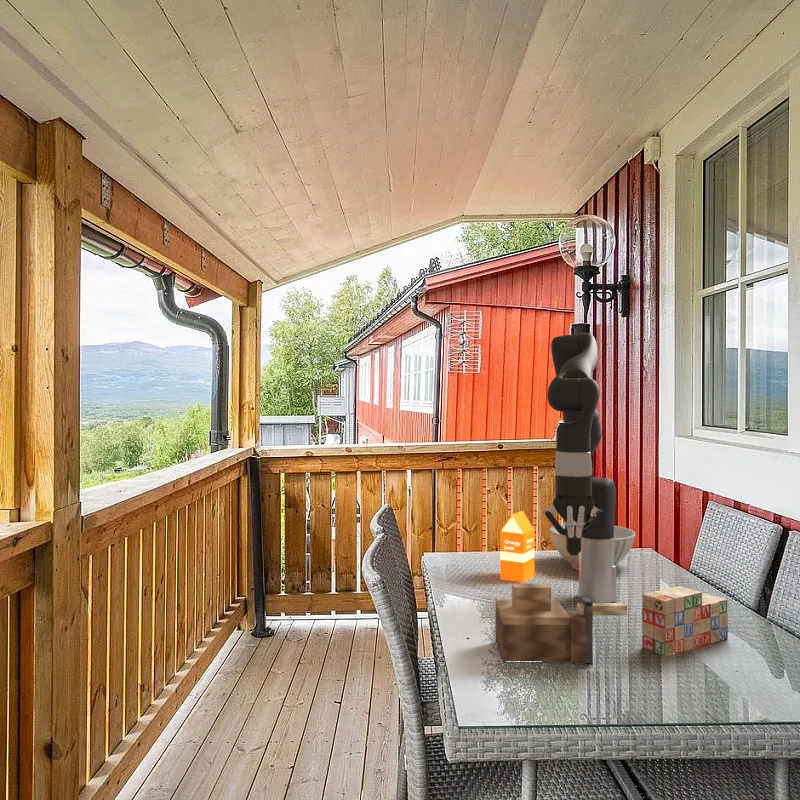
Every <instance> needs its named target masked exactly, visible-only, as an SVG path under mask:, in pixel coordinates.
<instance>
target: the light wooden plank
mask: <svg viewBox="0 0 800 800" xmlns="http://www.w3.org/2000/svg"><path fill="white" fill-rule="evenodd" d="M576 612H577V613H578V614H579V615H584V604H583V603H580V602H577V603H576ZM593 616H628V605H627V604H625V602H609V603H593Z"/></svg>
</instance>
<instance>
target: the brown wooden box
mask: <svg viewBox="0 0 800 800" xmlns="http://www.w3.org/2000/svg"><path fill="white" fill-rule="evenodd" d="M579 603H583V604H584V615H579V614H578V613H577V611H566V613H567V614H568V615H569V617H570V625H503V623H502V621H501V618H500V616H499V614H498V611H497V609H496V608H495V644H496V643H497V645H496V647H497V646H498V647H497V650H498V649H499V650H498V652H499V651H500V653H499V655H500V654H501V655H500V657H502V658H501V660H502V659H503V661H542V662H571V663H591V664H590V665H593V663H594V662H593V657H594V656H593V648H594V647H593V646H594V645H593V643H594V642H593V638H594V637H593V634H594V632H593V628H594V627H593V626H594V625H593V624H594V623H593V622H594V621H593V620H594V619H593V616H594V615H593V602H592V601H591V600H590V599H589V598H588V597H587V596H580V598H579ZM503 661H502V662H503ZM571 663H570V664H571Z"/></svg>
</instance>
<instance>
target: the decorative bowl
mask: <svg viewBox="0 0 800 800" xmlns="http://www.w3.org/2000/svg"><path fill="white" fill-rule="evenodd" d="M584 523H585V522H583V524H584ZM559 524H560V523H559ZM560 525H561V526H562V528H564V529H565V525H564V523H561V524H560ZM573 528H574V524H573ZM548 532H549V535H550V538H551V541H552V543H553V545H554V548H555V549H556V550H557V552H558V553H559V555H560V556H561V557H562V558H563V559H564V560H566V562H568V563H570V564H571V567H572V568H573V569H575V570H577V571H579V553H578V555H570V554H569V553H568V552H567V550H566V536H565V535H561V534H560V533H558V532H557V530H556V529H555V528H554V526H553V525H552V526H551V527H550V528H549V531H548ZM635 538H636V532H635V531H634V530H633V529H630V528H627V527H624V526H618V525H614V565H615V566H616V565H617V564H619V563H620V562H621V561H622V560H624V558H625V557H626V556H627V555H628V554H629V552H630V550H631V549H632V546H633V545H634V542H635Z"/></svg>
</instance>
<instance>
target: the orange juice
mask: <svg viewBox="0 0 800 800" xmlns="http://www.w3.org/2000/svg"><path fill="white" fill-rule="evenodd" d="M499 534H500V539H499V540H500V541H499V542H500V544H499V546H500V549H499V550H500V552H499V553H500V554H499V555H500V557H499V559H500V560H499V561H500V564H499V565H500V568H499V569H500V571H499V572H500V580H502V581H503V580H504V581H509V580H510V581H511V582H515V581H517V583H521V584H525V582H527V581H529V580H531V579H532V578H534V577H535V553H536V552H535V528H534V527H533V526H532V523H531V522H530V520H529V519H528V517H527V516H526V514H525V512H524V511H523V510H521V511H518V512H516V513H512V514H511V515H510V517H509V518H508V519H507V521H506V523H505V524H504V526H503V527H502V528H501V530H500V533H499Z"/></svg>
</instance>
